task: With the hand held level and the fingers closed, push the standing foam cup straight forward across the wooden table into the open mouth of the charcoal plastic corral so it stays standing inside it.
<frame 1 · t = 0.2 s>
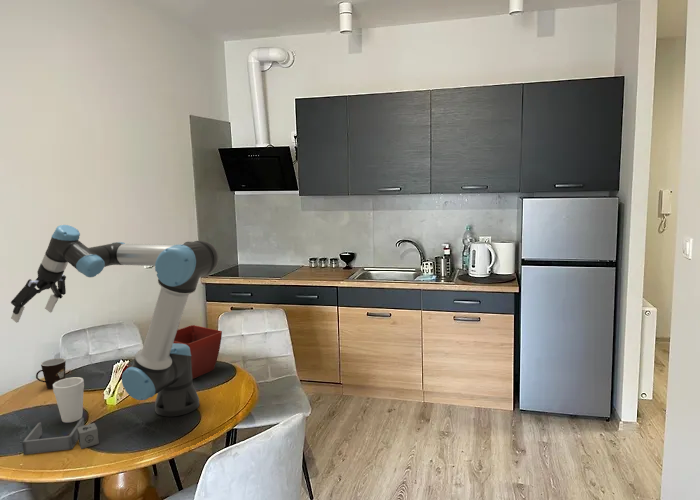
hand: (32, 315, 187), 35 cm above the table, tool tilted 35°, fingers open, 13 cm apart
corral: (56, 440, 168), on the table
grey cube: (88, 443, 166), on the table
coffee mug: (51, 387, 211), on the table
plant pot: (192, 372, 223), on the table
foam cup: (72, 418, 183), on the table
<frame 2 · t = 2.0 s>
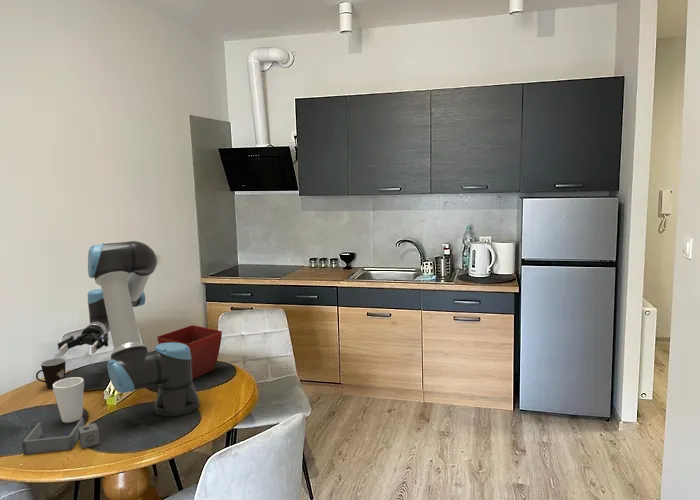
hand: (76, 351, 192), 20 cm above the table, tool horizontal, fingers open, 10 cm apart
nothing on the table moved.
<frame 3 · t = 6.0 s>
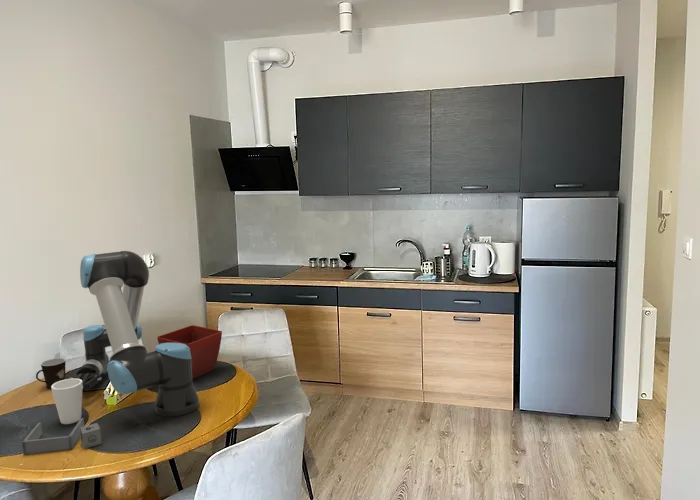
hand: (69, 396, 186), 6 cm above the table, tool horizontal, fingers closed
foam cup: (70, 420, 182), on the table, touching gripper
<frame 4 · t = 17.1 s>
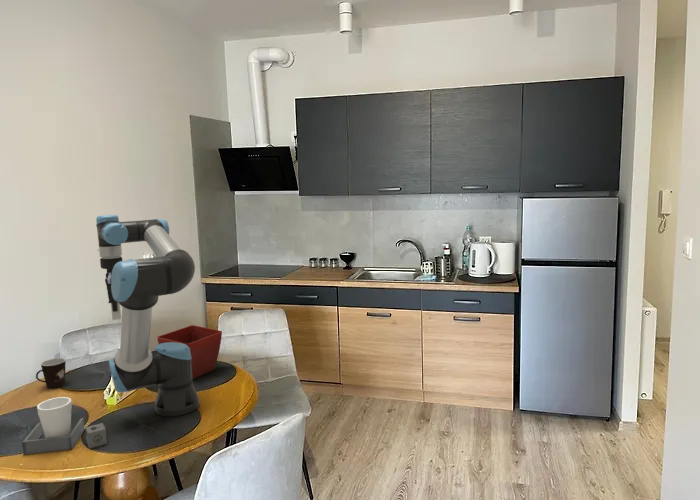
hand: (116, 319, 199), 29 cm above the table, tool pointing down, fingers closed
grey cube: (97, 443, 166), on the table
foam cup: (58, 443, 167), on the table
everything else where it was.
at the end: foam cup 1.8 cm off-centre on the corral, point 0.0 cm above the corral's base; foam cup tilted 0° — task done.
